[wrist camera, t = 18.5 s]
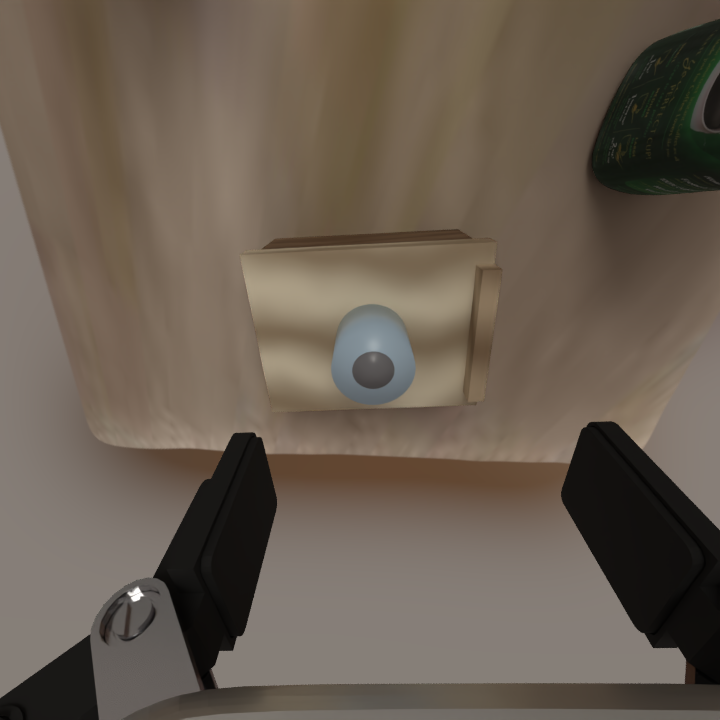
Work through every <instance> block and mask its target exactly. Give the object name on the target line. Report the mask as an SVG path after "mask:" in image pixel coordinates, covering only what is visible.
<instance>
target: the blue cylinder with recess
mask: <svg viewBox="0 0 720 720" xmlns="http://www.w3.org/2000/svg"><path fill="white" fill-rule="evenodd" d="M415 370H416V365H415V359H414V356H413V352H412V348H411V344H410V341H409V337H408V333H407V330H406V327H405V324H404V322H403V320H402V319H401V317H400V316H399V315H398V314H397V313H396V312H394V311H393V310H391V309H390V308H388V307H385V306H382V305H377V304H368V305H362V306H359V307H357V308H355V309H353V310H351V311H350V312H348V313H347V314H346V315H345V316H344V318H343V319H342V320H341V322H340V324H339V326H338V329H337V334H336V340H335V346H334V352H333V358H332V365H331V373H332V378H333V381H334V383H335V385H336V386H337V388H338V389H339V390H340V391H341V393H342V394H344V395H345V396H346V397H348V398H349V399H351V400H353V401H355V402H358V403H362V404H367V405H379V404H384V403H388V402H391V401H393V400H395V399H397V398H398V397H400V396H401V395H402V394H404V393H405V392H406V391H407V389H408V388H409V387H410V385H411V384H412V382H413V379H414V376H415Z"/></svg>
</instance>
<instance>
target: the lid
mask: <svg viewBox="0 0 720 720" xmlns="http://www.w3.org/2000/svg"><path fill="white" fill-rule="evenodd" d="M496 249H497V242H496V241H494V240H492V239H491V238H479V239H459V240H439V241H420V242H400V243H380V244H361V245H341V246H321V247H302V248H282V249H262V250H246V251H245V252H243V253H242V254H240V259H241V264H242V269H243V274H244V279H245V283H246V288H247V293H248V298H249V303H250V307H251V312H252V317H253V322H254V327H255V332H256V336H257V341H258V346H259V351H260V356H261V360H262V365H263V370H264V375H265V380H266V384H267V389H268V394H269V399H270V404H271V409H272V412H297V411H324V410H352V409H379V408H407V407H434V406H461V405H476V403H477V402H482V401H484V397H485V390H486V383H487V375H488V368H489V361H490V354H491V347H492V340H493V333H494V326H495V319H496V312H497V305H498V298H499V291H500V284H501V276H502V269H501V268H499V267H498V266H497V265H495V257H496ZM368 304H377V305H382V306H385V307H388V308H390V309H391V310H393V311H394V312H396V313H397V314H398V315H399V316H400V317H401V319H402V320H403V322H404V324H405V327H406V330H407V333H408V337H409V341H410V344H411V348H412V352H413V356H414V359H415V365H416V370H415V376H414V379H413V382H412V384H411V385H410V387H409V388H408V389H407V391H406V392H405V393H404V394H402V395H401V396H400V397H398V398H397V399H395V400H393V401H391V402H388V403H384V404H379V405H367V404H362V403H358V402H355V401H353V400H351V399H349V398H348V397H346V396H345V395H344V394H342V393H341V391H340V390H339V389H338V388H337V386H336V385H335V383H334V381H333V378H332V373H331V365H332V358H333V352H334V346H335V340H336V334H337V329H338V326H339V324H340V322H341V320H342V319H343V318H344V316H345V315H346V314H347V313H348V312H350V311H351V310H353V309H355V308H357V307H359V306H362V305H368Z"/></svg>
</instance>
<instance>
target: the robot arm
mask: <svg viewBox="0 0 720 720" xmlns="http://www.w3.org/2000/svg"><path fill="white" fill-rule="evenodd" d="M561 497H562V501H563V504H564V505H565V507H566V509H567V511H568V512H569V514H570V516H571V517H572V519H573V521H574V523H575V524H576V526H577V528H578V530H579V531H580V533H581V534H582V536H583V538H584V540H585V542H586V543H587V545H588V547H589V549H590V550H591V552H592V554H593V555H594V557H595V559H596V561H597V562H598V564H599V566H600V568H601V569H602V571H603V573H604V574H605V576H606V578H607V580H608V581H609V583H610V585H611V586H612V588H613V590H614V592H615V593H616V595H617V597H618V598H619V600H620V602H621V604H622V605H623V607H624V609H625V611H626V612H627V614H628V616H629V617H630V619H631V621H632V623H633V624H634V626H635V627H636V628H637V629H638V630H639V631H640V632H642V633H645V635H646V637H647V638H648V640H649V642H650V644H651V645H652V647H653V648H677V647H678V648H679V649H680V651H681V652H682V654H683V655H684V657H685V658H686V673H685V684H603V683H595V684H594V683H593V684H592V683H591V684H588V683H580V684H579V683H573V684H572V683H526V684H525V683H519V684H518V683H512V684H511V683H506V684H505V683H498V684H497V683H496V684H493V683H492V684H490V683H488V684H485V683H484V684H320V685H280V686H244V687H232V688H221V689H218V686H217V683H216V680H215V677H214V675H213V672H212V669H211V668H212V667H213V666H214V665H215V663H216V660H217V657H218V653H219V651H233V649H234V645H235V641H236V638H237V636H242V635H243V633H244V631H245V628H246V624H247V621H248V617H249V613H250V609H251V605H252V601H253V598H254V593H255V590H256V586H257V582H258V578H259V574H260V570H261V567H262V563H263V559H264V555H265V551H266V547H267V543H268V539H269V536H270V532H271V528H272V524H273V520H274V516H275V513H276V508H277V497H276V493H275V489H274V485H273V481H272V477H271V473H270V469H269V465H268V461H267V457H266V453H265V449H264V445H263V441H262V438H261V437H256V434H255V433H253V432H252V433H234V434H233V436H232V437H231V439H230V441H229V443H228V445H227V447H226V449H225V451H224V453H223V455H222V458H221V460H220V462H219V464H218V466H217V468H216V470H215V472H214V474H213V476H212V478H211V479H207V480H205V481H204V482H203V483H202V484H201V486H200V487H199V489H198V491H197V493H196V495H195V497H194V499H193V501H192V503H191V505H190V507H189V509H188V510H187V513H186V514H185V516H184V518H183V521H182V522H181V524H180V526H179V528H178V530H177V532H176V534H175V536H174V538H173V540H172V542H171V544H170V545H169V547H168V550H167V551H166V553H165V555H164V557H163V559H162V561H161V563H160V565H159V567H158V569H157V571H156V573H155V575H154V577H153V578H144V579H140V580H136V581H134V582H132V583H130V584H128V585H126V586H124V587H123V588H122V589H120V590H119V591H118V592H116V593H115V594H114V595H113V596H112V597H111V598H110V599H109V600H108V601H107V602H106V603H105V604H104V605H103V607H102V608H101V610H100V611H99V613H98V614H97V616H96V618H95V620H94V623H93V626H92V628H91V634H90V635H89V636H87V637H86V638H84V639H83V640H82V641H80V642H79V643H77V644H76V645H75V646H73V647H72V648H70V649H69V650H68V651H66V652H65V653H63V654H62V655H61V656H59V657H58V658H57V659H55V660H53V661H52V662H51V663H49V664H48V665H46V666H45V667H44V668H42V669H41V670H39V671H38V672H37V673H35V674H34V675H32V676H31V677H30V678H28V679H27V680H25V681H24V682H23V683H21V684H20V685H18V686H17V687H16V688H14V689H13V690H11V691H10V692H8V693H7V694H6V695H4V696H3V697H1V698H0V720H720V530H719V529H718V528H717V527H716V526H715V525H714V524H713V523H712V522H711V521H710V520H709V519H708V518H707V517H706V516H705V515H704V514H703V512H701V510H700V509H698V507H697V506H696V505H695V504H694V503H693V502H692V501H691V500H690V499H689V498H688V497H687V496H686V495H685V494H684V493H683V492H682V491H681V490H680V489H679V488H678V487H677V486H676V484H675V483H674V482H672V480H671V479H670V478H669V477H668V476H667V475H666V474H665V473H664V472H663V471H662V470H661V469H660V468H659V467H658V466H657V465H656V464H655V463H654V462H653V461H652V460H651V459H650V458H649V456H647V454H646V453H645V452H644V451H643V450H642V449H641V448H640V447H639V446H638V445H637V444H636V443H635V442H634V441H633V440H632V439H631V438H630V437H629V436H628V435H627V434H626V433H625V432H624V431H623V430H622V428H621V427H620V426H619V425H618V424H616V423H615V422H612V421H610V422H590V423H589V424H588V425H587V427H585V428H583V429H582V430H581V433H580V436H579V439H578V442H577V445H576V448H575V451H574V454H573V457H572V460H571V463H570V466H569V470H568V472H567V476H566V479H565V482H564V484H563V487H562V491H561Z"/></svg>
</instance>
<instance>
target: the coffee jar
mask: <svg viewBox="0 0 720 720" xmlns="http://www.w3.org/2000/svg"><path fill="white" fill-rule="evenodd" d="M592 168H593V171H594V174H595V176H596V178H597V179H598V180H599V181H600V182H601V183H602V184H603V185H605V186H607V187H609V188H611V189H614V190H617V191H621V192H625V193H629V194H638V195H666V194H680V193H691V192H702V191H715V190H720V19H718V20H715V21H712V22H709V23H705V24H702V25H699V26H696V27H693V28H690V29H687V30H684V31H681V32H678V33H676V34H673V35H671V36H668V37H666V38H664V39H661V40H659V41H657V42H655V43H654V44H652V45H651V46H649V47H648V48H647V49H646V50H645V51H644V52H642V53H641V55H640V56H639V57H638V58H637V59H636V60H635V62H634V63H633V64H632V66H631V68H630V69H629V71H628V73H627V75H626V76H625V78H624V80H623V82H622V84H621V86H620V87H619V89H618V91H617V93H616V95H615V97H614V99H613V101H612V103H611V106H610V108H609V110H608V113H607V115H606V117H605V119H604V122H603V125H602V127H601V130H600V132H599V135H598V138H597V141H596V144H595V148H594V151H593V156H592Z"/></svg>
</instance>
